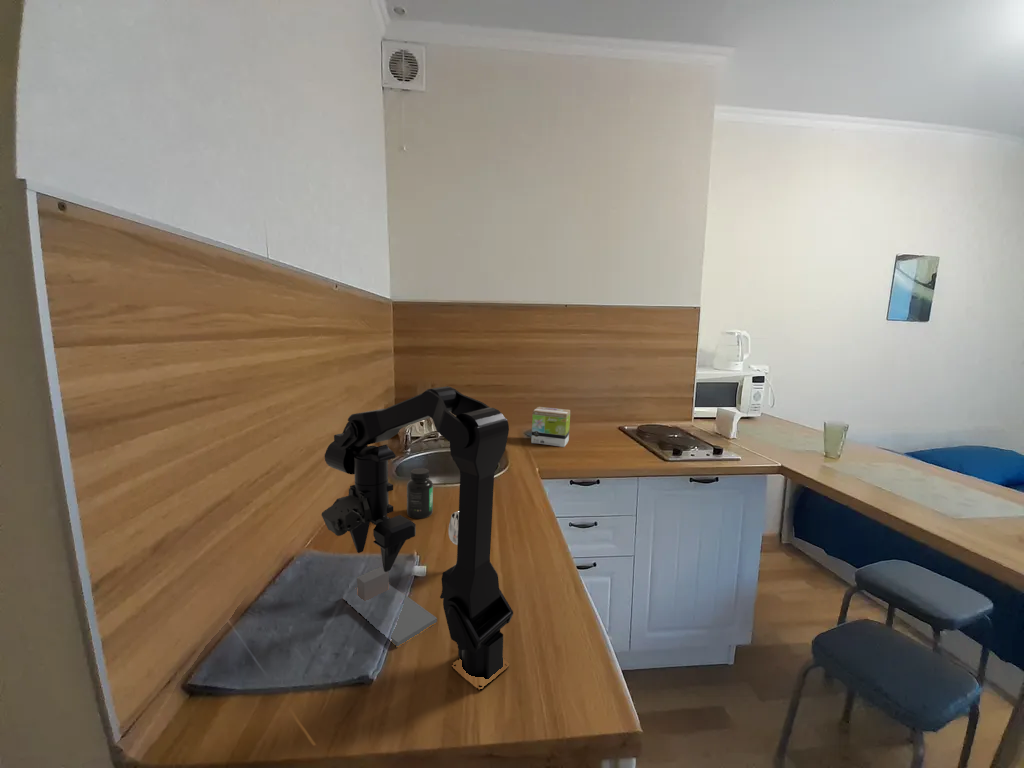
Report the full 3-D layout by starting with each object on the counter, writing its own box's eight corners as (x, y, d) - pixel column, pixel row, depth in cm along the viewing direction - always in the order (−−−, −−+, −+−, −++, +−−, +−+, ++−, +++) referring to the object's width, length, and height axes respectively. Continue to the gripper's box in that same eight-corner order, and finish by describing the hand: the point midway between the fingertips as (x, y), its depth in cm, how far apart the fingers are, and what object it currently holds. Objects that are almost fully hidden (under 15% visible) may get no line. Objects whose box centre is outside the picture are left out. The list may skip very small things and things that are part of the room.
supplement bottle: (437, 514, 119) (437, 471, 117) (415, 521, 114) (415, 477, 113) (424, 506, 124) (424, 465, 122) (402, 512, 119) (401, 470, 118)
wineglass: (462, 558, 97) (462, 507, 96) (481, 568, 94) (482, 515, 92) (442, 569, 93) (442, 515, 91) (461, 580, 89) (462, 524, 88)
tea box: (530, 443, 190) (531, 410, 188) (536, 438, 199) (537, 406, 197) (565, 447, 186) (566, 413, 183) (569, 441, 195) (570, 408, 193)
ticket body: (437, 624, 76) (437, 617, 76) (397, 649, 70) (397, 641, 70) (405, 600, 82) (405, 594, 82) (366, 621, 76) (366, 614, 76)
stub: (404, 598, 83) (403, 574, 82) (365, 619, 77) (364, 593, 76) (380, 581, 88) (380, 558, 87) (342, 599, 82) (341, 574, 81)
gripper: (303, 477, 79) (306, 559, 81) (356, 509, 67) (359, 603, 69) (360, 464, 87) (362, 538, 89) (417, 489, 75) (417, 574, 77)
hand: (373, 561), depth 81 cm, fingers open, 9 cm apart
